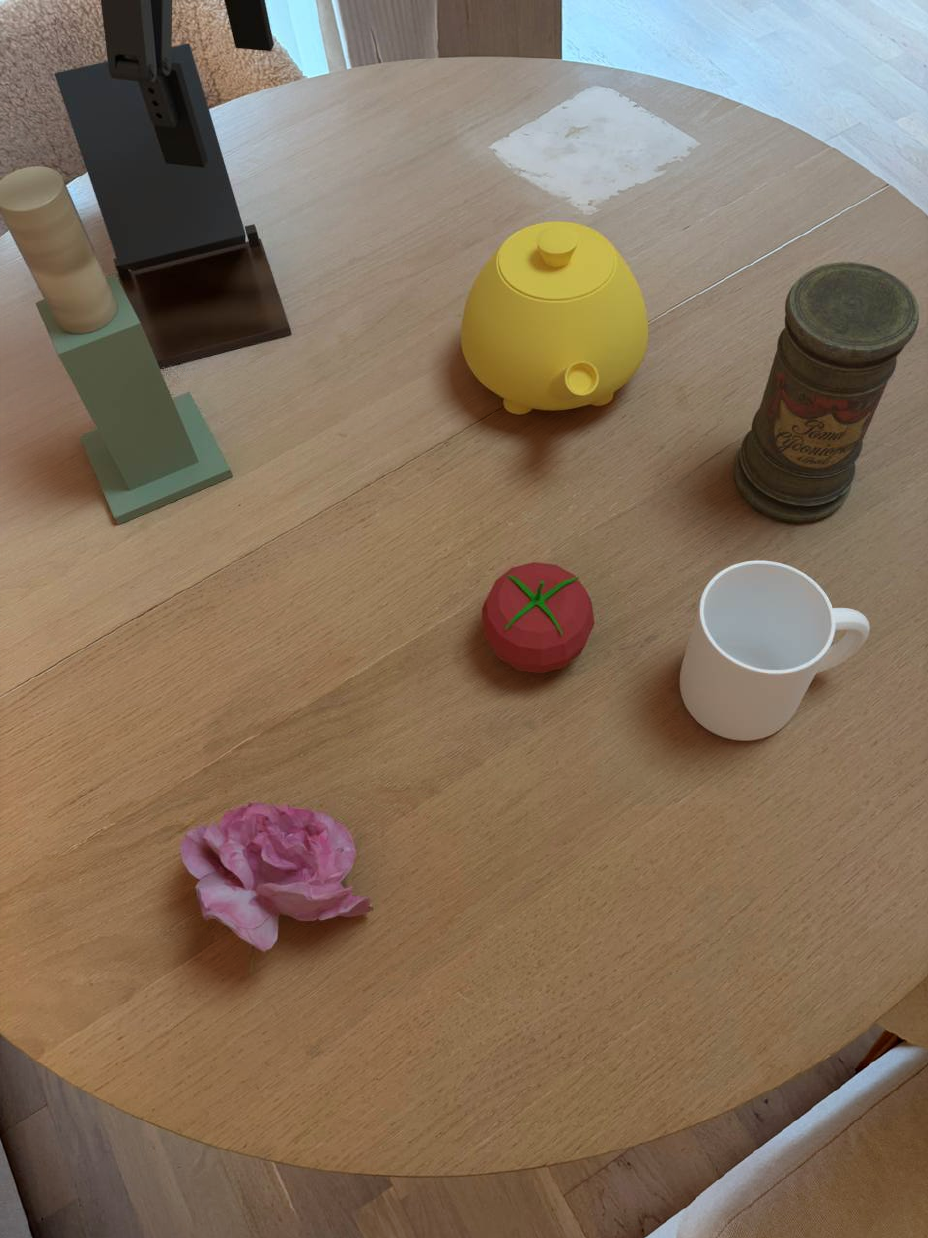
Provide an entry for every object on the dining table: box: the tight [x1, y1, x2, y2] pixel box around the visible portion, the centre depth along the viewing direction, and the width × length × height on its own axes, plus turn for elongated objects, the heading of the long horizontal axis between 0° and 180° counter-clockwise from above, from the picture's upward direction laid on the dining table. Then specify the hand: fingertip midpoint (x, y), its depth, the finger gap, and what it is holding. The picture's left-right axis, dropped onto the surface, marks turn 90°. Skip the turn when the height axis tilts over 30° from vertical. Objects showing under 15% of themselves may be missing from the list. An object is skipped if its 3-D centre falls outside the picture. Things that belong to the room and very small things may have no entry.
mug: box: [679, 559, 871, 742], centre depth 67 cm, size 12×8×10 cm
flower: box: [180, 801, 374, 974], centre depth 62 cm, size 11×10×10 cm
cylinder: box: [0, 165, 118, 334], centre depth 67 cm, size 4×4×10 cm
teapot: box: [460, 220, 649, 415], centre depth 81 cm, size 20×16×14 cm
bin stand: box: [113, 223, 293, 370], centre depth 94 cm, size 13×14×3 cm
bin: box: [54, 42, 247, 271], centre depth 89 cm, size 11×11×15 cm
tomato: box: [481, 561, 595, 674], centre depth 71 cm, size 8×8×8 cm
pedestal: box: [34, 273, 234, 525], centre depth 78 cm, size 10×10×16 cm
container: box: [733, 261, 920, 524], centre depth 73 cm, size 9×9×18 cm
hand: (222, 102), depth 70 cm, fingers open, 13 cm apart
